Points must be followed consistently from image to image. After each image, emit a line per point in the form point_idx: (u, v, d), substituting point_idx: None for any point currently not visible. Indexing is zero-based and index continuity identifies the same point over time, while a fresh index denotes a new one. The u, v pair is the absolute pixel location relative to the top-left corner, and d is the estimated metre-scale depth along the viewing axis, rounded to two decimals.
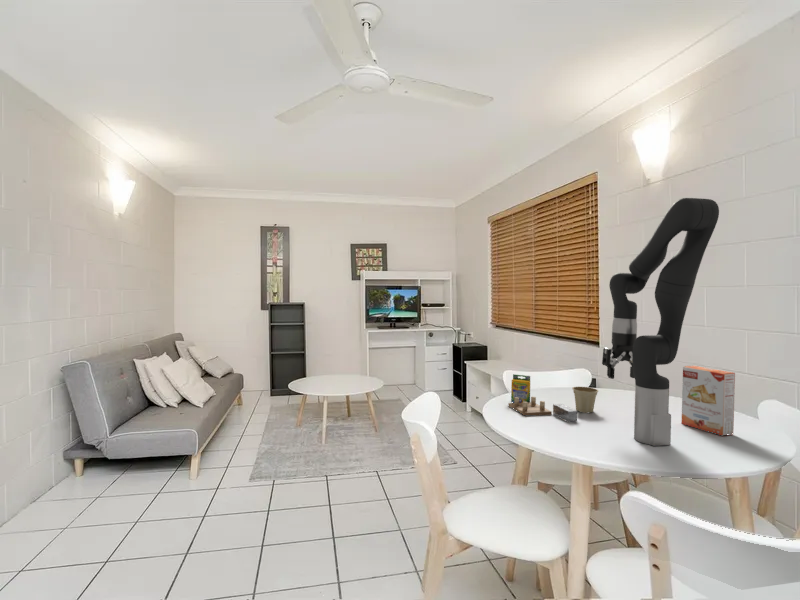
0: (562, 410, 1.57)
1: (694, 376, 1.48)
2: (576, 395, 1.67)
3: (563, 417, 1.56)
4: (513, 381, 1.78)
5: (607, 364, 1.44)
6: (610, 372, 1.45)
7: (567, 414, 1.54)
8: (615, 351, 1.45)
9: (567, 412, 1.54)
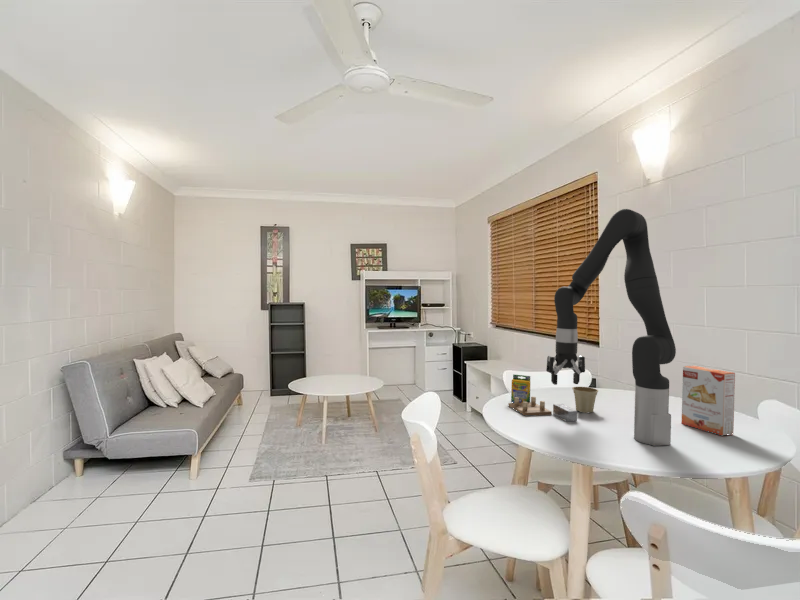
0: (562, 410, 1.57)
1: (694, 376, 1.48)
2: (576, 395, 1.67)
3: (563, 417, 1.56)
4: (513, 381, 1.78)
5: (550, 371, 1.56)
6: (553, 378, 1.57)
7: (567, 414, 1.54)
8: (558, 359, 1.57)
9: (567, 412, 1.54)
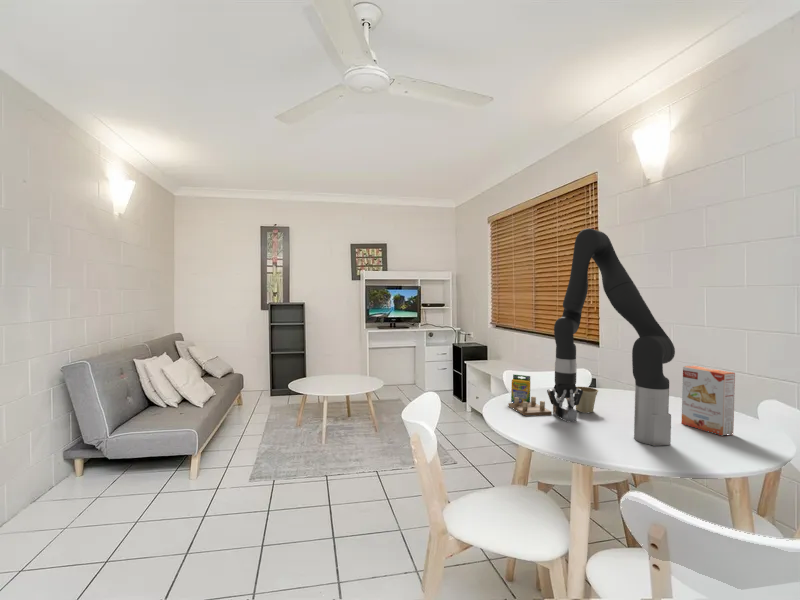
0: None
1: (694, 376, 1.48)
2: None
3: (563, 416, 1.56)
4: (513, 381, 1.78)
5: (555, 404, 1.57)
6: (558, 411, 1.57)
7: (567, 413, 1.54)
8: (557, 390, 1.57)
9: (567, 411, 1.54)
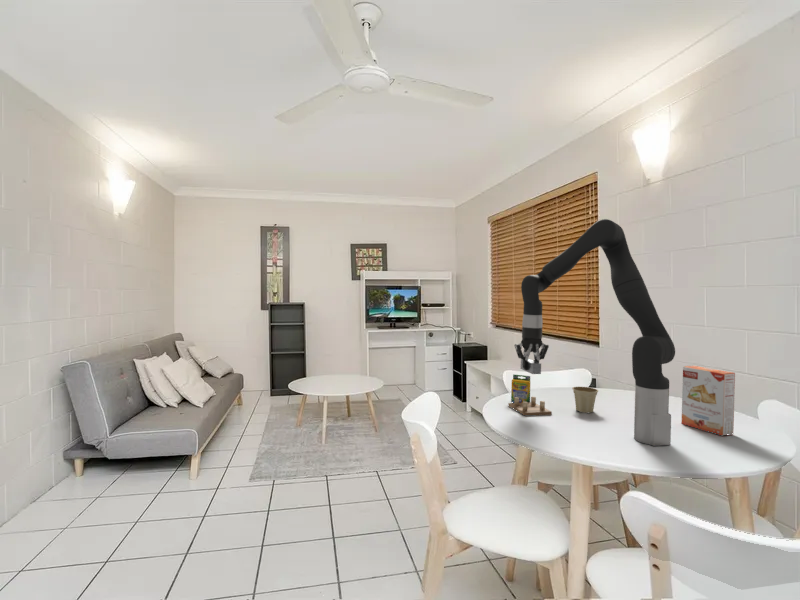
0: None
1: (694, 376, 1.48)
2: (576, 395, 1.67)
3: (528, 370, 1.66)
4: (513, 381, 1.78)
5: (521, 357, 1.66)
6: (524, 364, 1.67)
7: (532, 366, 1.63)
8: (524, 344, 1.66)
9: (531, 364, 1.63)
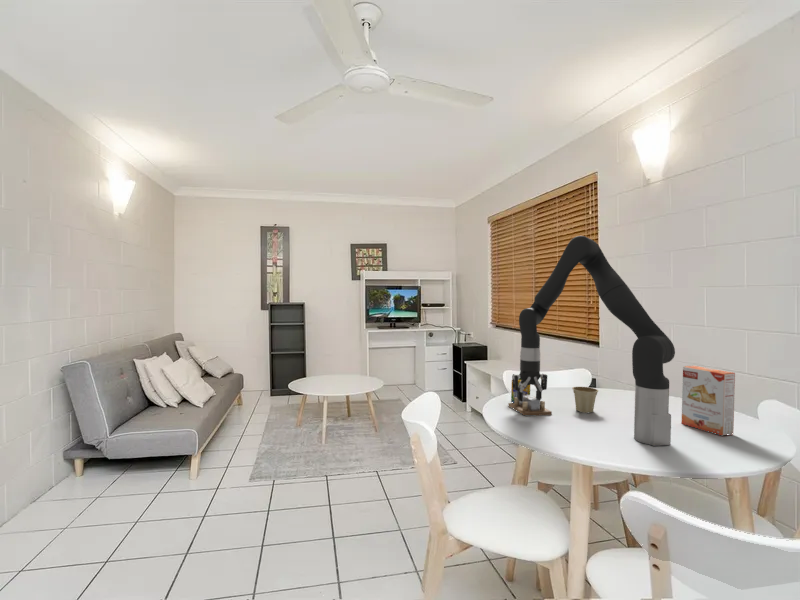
0: (526, 399, 1.67)
1: (694, 376, 1.48)
2: (576, 395, 1.67)
3: None
4: None
5: (516, 389, 1.65)
6: (519, 395, 1.66)
7: (531, 402, 1.63)
8: (522, 376, 1.66)
9: (530, 401, 1.63)
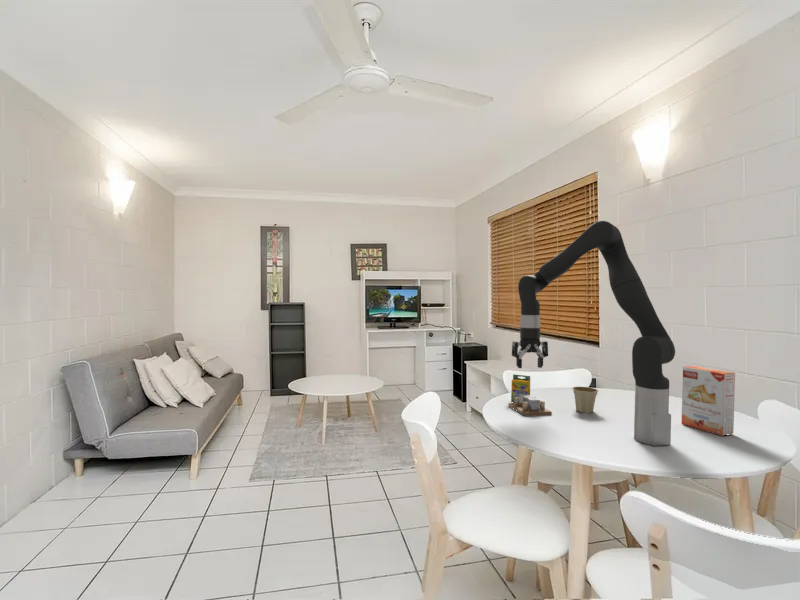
0: (526, 399, 1.67)
1: (694, 376, 1.48)
2: (576, 395, 1.67)
3: None
4: (513, 381, 1.78)
5: (515, 355, 1.65)
6: (518, 362, 1.66)
7: (531, 402, 1.63)
8: (522, 344, 1.66)
9: (530, 401, 1.63)
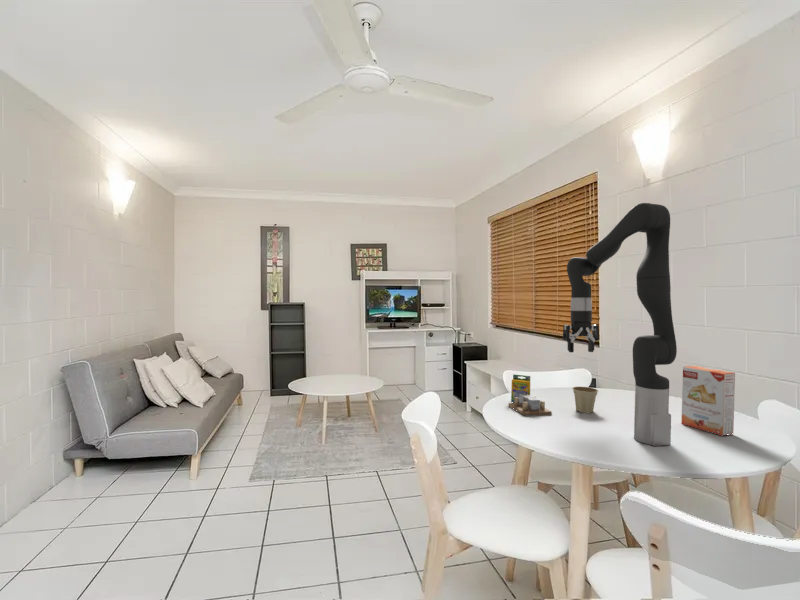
0: (526, 399, 1.67)
1: (694, 376, 1.48)
2: (576, 395, 1.67)
3: None
4: (513, 381, 1.78)
5: (567, 339, 1.61)
6: (570, 346, 1.61)
7: (531, 402, 1.63)
8: (573, 327, 1.61)
9: (530, 401, 1.63)
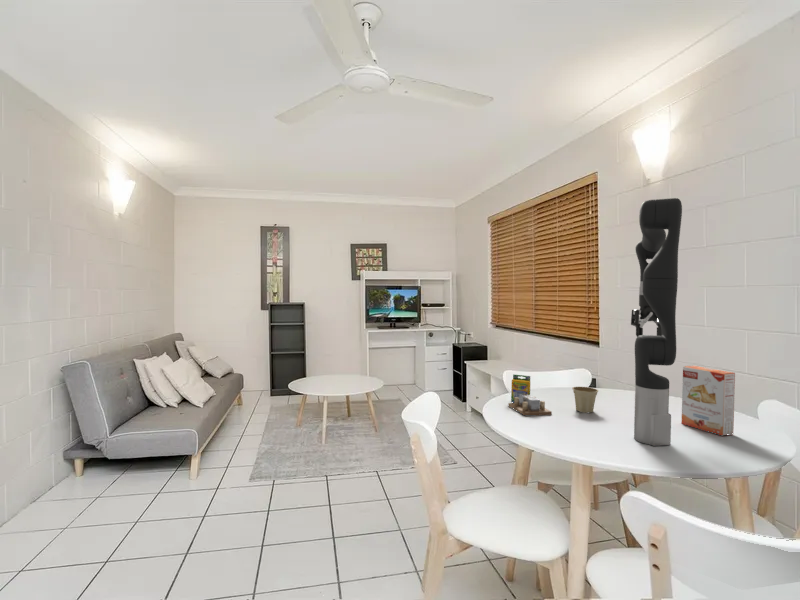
0: (526, 399, 1.67)
1: (694, 376, 1.48)
2: (576, 395, 1.67)
3: None
4: (513, 381, 1.78)
5: (636, 324, 1.56)
6: (639, 331, 1.57)
7: (531, 402, 1.63)
8: (643, 312, 1.57)
9: (530, 401, 1.63)
